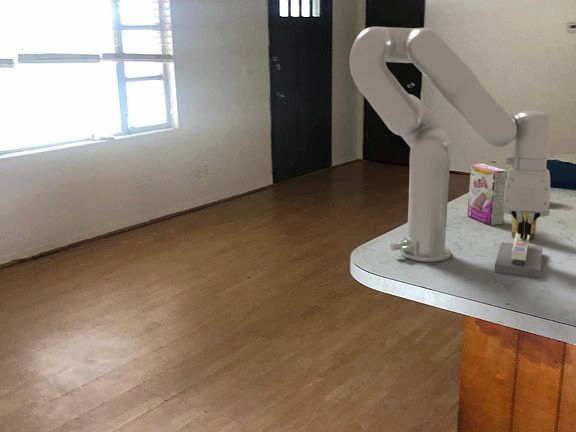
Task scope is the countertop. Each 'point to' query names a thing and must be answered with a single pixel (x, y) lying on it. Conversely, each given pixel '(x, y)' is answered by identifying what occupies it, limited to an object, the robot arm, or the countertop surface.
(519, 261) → the key blue
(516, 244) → the key terracotta
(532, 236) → the sauce bottle
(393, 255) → the countertop surface
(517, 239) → the key sage
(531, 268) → the keypad board
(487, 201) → the candy bar box
